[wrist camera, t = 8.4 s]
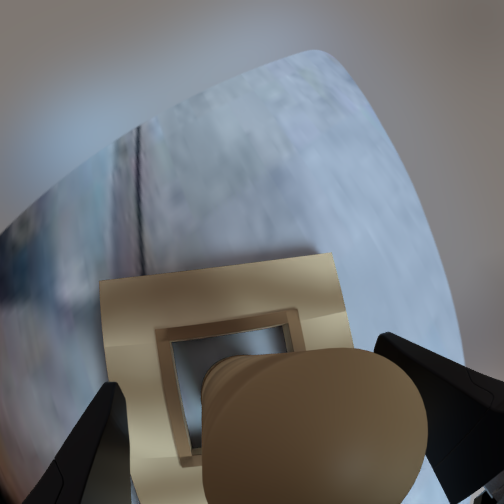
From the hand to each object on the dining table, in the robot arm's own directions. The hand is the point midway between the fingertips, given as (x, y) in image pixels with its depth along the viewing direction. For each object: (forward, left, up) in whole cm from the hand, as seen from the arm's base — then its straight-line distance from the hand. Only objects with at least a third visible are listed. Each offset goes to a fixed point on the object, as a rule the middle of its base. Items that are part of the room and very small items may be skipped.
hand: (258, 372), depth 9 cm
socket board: (-2, 0, -8) cm, 8 cm away
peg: (-1, 0, -8) cm, 8 cm away
